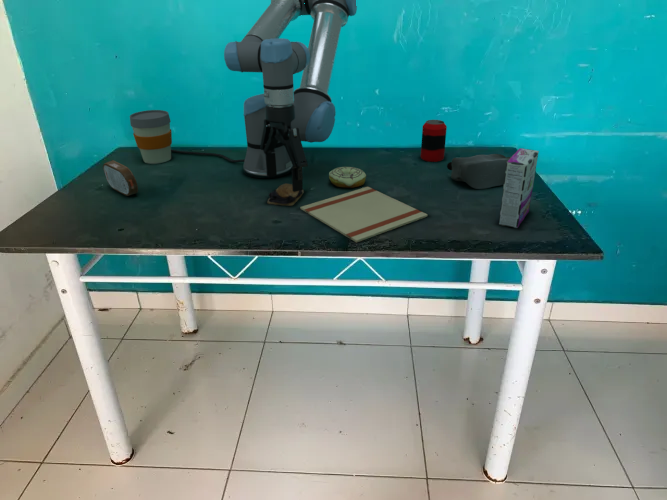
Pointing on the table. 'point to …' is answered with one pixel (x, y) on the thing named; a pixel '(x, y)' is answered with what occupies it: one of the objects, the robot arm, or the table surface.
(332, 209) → the towel
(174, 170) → the table surface
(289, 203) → the bread roll
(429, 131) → the soda can
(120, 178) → the tin
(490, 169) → the gray bottle
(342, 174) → the decorated donut
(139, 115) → the reusable coffee cup
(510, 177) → the candy bar box
